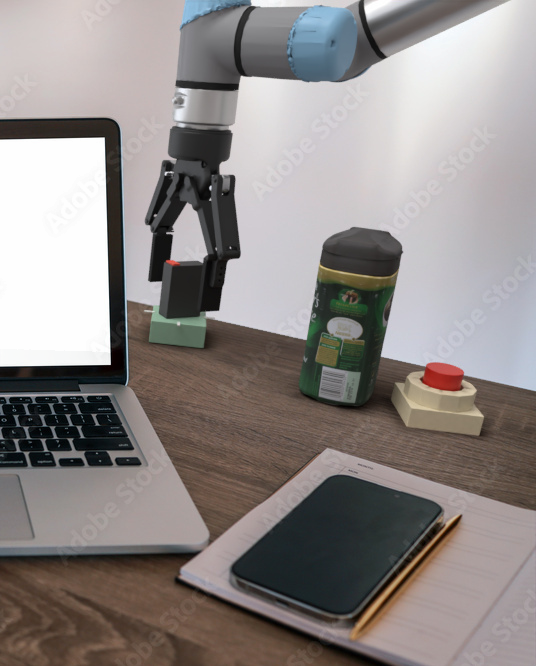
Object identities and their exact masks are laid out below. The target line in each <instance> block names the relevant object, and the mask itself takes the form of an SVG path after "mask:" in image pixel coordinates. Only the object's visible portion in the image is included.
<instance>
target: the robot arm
mask: <svg viewBox="0 0 536 666" xmlns="http://www.w3.org/2000/svg"><path fill="white" fill-rule="evenodd" d="M510 1H511V0H357V1H355V2H353V3H351V4H349V5H347V6H345V7H335V6H328V5H327V6H326V5H322V4H320V5H318V4H317V5H313V6H262V7H261V6H257V5H253V4H252V0H184V5H183V11H182V18H181V24H180V25H179V31H180V35H179V45H178V46H179V47H178V57H177V68H176V76H175V77H176V79H175V83H174V84H175V85H174V86H175V88H174V94H173V96H172V98H171V103H172V112H171V120H172V121H173V122H175V124H176V125H172V126H171V128H170V129H169V136H168V145H167V155H168V156H169V157H170V158H172V159H163V160H162V161H161V166H160V172H159V177H158V180H157V183H156V186H155V189H154V191H153V193H152V197H151V200H150V203H149V206H148V209H147V212H146V215H145V217H144V224H145V226H149V228H150V233H152V236H151V238H152V239H151V248H150V257H149V265H148V266H149V267H148V276H147V281H148V282H149V283H159V282H160V283H162V278H163V269H164V262H166V260H172V259H171V257H172V249H173V240H174V234H173V233H174V232H175V229H174V227H173V226H175V224H176V222H177V220H178V219H179V217H180V215H181V214H182V212H183V211H184V209H185V207H186V205H187V204H188V205H191V208H192V210H193V211H195V212H196V214H197V217H198V221H199V225H200V229H201V233H202V238H203V241H204V245H205V249H206V253H207V255H205V256H204V257H203V258H202V259H203V260H202V263H203V267H202V275H201V283H200V291H199V298H198V306H197V311H199V312H206V313H207V312H220V309H221V301H222V295H223V287H224V286H225V282H226V281H225V280H226V274H227V265H228V262H229V261H230V260H237V259H240V258H241V255H242V250H241V242H240V234H239V233H240V232H239V225H238V215H237V205H236V198H235V197H236V196H235V191H236V176H235V175H234V174H221V171H220V170H221V169H220V167H221V166H220V165H221V164H222V163H224V162H227V161H229V159H230V157H231V150H232V143H233V136H234V132H232V130H231V129H229V128H230V127H231V126H233V125H234V124H235V123H236V115H237V107H238V100H239V99H238V98H239V92H240V91H239V90H240V82H241V77H245V78H264V79H274V80H275V79H276V80H287V81H288V80H289V81H302V82H303V83H321V82H330V83H344V82H347V81H351V80H355V79H357V78H359V77H361V76H362V75H364V74H365V73H366V72H368V70H370V68H372V66H375V65H376V64H378V63H381V62H382V61H384V60H386V59H388V58H390V57H392V56H394V55H396V54H398V53H400V52H402V51H405V50H407V49H409V48H411V47H414V46H415V45H417V44H419V43H422V42H424V41H426V40H428V39H430V38H432V37H434V36H437V35H439V34H441V33H443V32H446V31H448V30H450V29H451V28H454V27H456V26H458V25H461V24H463V23H465V22H467V21H469V20H471V19H473V18H476V17H478V16H480V15H482V14H485V13H486V12H488V11H490V10H493V9H495V8H497V7H499V6H501V5H503V4H506V3H507V2H510Z"/></svg>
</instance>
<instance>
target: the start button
mask: <svg viewBox="0 0 536 666" xmlns="http://www.w3.org/2000/svg"><path fill="white" fill-rule="evenodd" d="M424 371H425V372H424V376H423V380H422V383H423V384H425V385H427V386H429V387H432V388H435V389H439V390H444V391H453V392H454V391H460V387H461V384H462V380H464V376H465V371H464V370H463V369H462V368H460V367H459V366H456V365H453V364H450V363H446V362H438V361H437V362H436V361H434V362H433V361H432V362H427V363H426V365H425V368H424Z"/></svg>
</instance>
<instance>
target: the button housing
mask: <svg viewBox="0 0 536 666" xmlns="http://www.w3.org/2000/svg"><path fill="white" fill-rule="evenodd" d="M424 372H425V370H421V371H412V372H410V373H409V374H408V375H407V376H406V378H405V382H398V381H397V382H394V385H393V389H392V394H391V397H390V401H391V402H392V405H393V406H394V408H395V410H396V411H397V413H398V415H399V416H400V418H401V420H402V421H403V423H404V424H405V427H406V428H413V429H421V430H428V431H437V432H445V433H452V434H461V435H462V434H463V435H468V436H478V437H479V436H480V433H481V431H482V427H483V423H484V420H485V416H484V414H483V413H482V412H481V411H480V410H479V409H478V407H477V406H476V405H475V401H476V397H477V393H478V392H477V391H478V389H477V388H476V387H475V386H474V385H473V384H472V383H471V382H469V381H466V380H465V379H463V380H462V384H461V387H460V391H454V392H453V391H444V390H439V389H435V388H432V387H429V386H427V385H425V384H423V383H422V380H423V376H424Z"/></svg>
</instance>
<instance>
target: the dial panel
mask: <svg viewBox="0 0 536 666" xmlns="http://www.w3.org/2000/svg"><path fill="white" fill-rule="evenodd" d="M143 312H144V313H150V314H151V317H150V318H151V319H150V327H149V335H148V336H149V337H148V343H152V344H162V345H169V346H179V347H187V348H196V349H204V348H205V341H206V333H207V320H215V319H216V317H215V316H213V317H212V316H207V312H200V316H197V317H182V318H165V317H163V316H162V315H160V314H159V305H157V304H153V306H152V310H150V309H149V310H147V309H144V310H143Z"/></svg>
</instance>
